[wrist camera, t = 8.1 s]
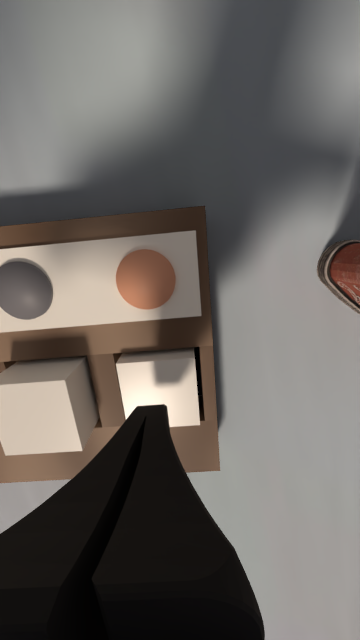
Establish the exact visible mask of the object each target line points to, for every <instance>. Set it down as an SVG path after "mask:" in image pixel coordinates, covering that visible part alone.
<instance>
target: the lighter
mask: <svg viewBox="0 0 360 640" xmlns="http://www.w3.org/2000/svg"><path fill="white" fill-rule="evenodd" d="M317 274H318V277H319V279H320V281H321V282H322V283H323V284H324V285H325V286H326V287H327V288H328V289H329V290H330V291H331V292H332V293H333V294H334V295H335V296H336V297H337V298H338V299H339V300H341V301H342V302H343V303H345V304H346V305H347V306H349V307H350V308H351V309H353V310H354V311H355V312H357V313H358V314H360V240H343V241H339V242H336V243H334V244H333V245H331V246H330V247H328V248H327V249H326V251H325V252H324V253H323V254H322V256H321V258H320V260H319V262H318V266H317Z"/></svg>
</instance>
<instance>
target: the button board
mask: <svg viewBox="0 0 360 640" xmlns="http://www.w3.org/2000/svg"><path fill="white" fill-rule="evenodd" d="M194 230H196V243H197V258H198V272H199V287H200V302H201V316H195V317H183V318H171V319H159V320H147V321H135V322H123V323H111V324H99V325H87V326H75V327H63V328H50V329H38V330H26V331H14V332H2V333H0V373H1V372H3V371H4V370H6V369H7V368H9V367H10V366H12V365H13V364H15V363H16V362H18V361H21V360H34V359H46V358H59V357H72V356H85V355H87V358H88V363H89V367H90V372H91V377H92V381H93V386H94V391H95V395H96V400H97V405H98V409H99V414H100V417H99V419H98V421H97V423H96V425H95V427H94V429H93V431H92V433H91V435H90V437H89V439H88V441H87V443H86V445H85V447H84V449H83V451H73V452H57V453H41V454H24V455H8V456H5V453H4V450H3V447H2V444H1V442H0V483H11V482H28V481H46V480H63V479H72V478H74V477H75V476H76V475H77V474H78V473H79V472H80V471H81V470H82V469H83V468H84V467H85V466H86V465H87V464H88V463H89V462H90V461H91V460H92V459H93V458H94V457H95V456H96V455H97V454H98V453H99V452H100V450H101V449H102V448H103V447H104V446H105V445H106V444H107V443H108V442H109V440H110V439H111V438H112V437H113V436H114V434H115V433H116V432H117V431H118V429H119V428H120V427H121V426H122V424H123V423H124V422H125V421H126V418H125V412H124V407H123V401H122V396H121V390H120V384H119V379H118V373H117V368H116V363H117V361H118V359H119V358H120V356H121V354H122V353H124V352H136V351H149V350H162V349H175V348H188V347H198V351H199V364H200V377H201V391H202V396H198V404H199V417H200V425H193V426H178V427H170V434H171V437H172V441H173V443H174V446H175V449H176V452H177V454H178V457H179V459H180V461H181V464H182V466H183V468H184V470H185V472H204V471H220V461H219V444H218V426H217V408H216V391H215V373H214V355H213V338H212V320H211V302H210V285H209V267H208V249H207V232H206V214H205V206H198V207H188V208H178V209H168V210H158V211H149V212H139V213H129V214H119V215H109V216H99V217H89V218H79V219H69V220H60V221H50V222H40V223H30V224H20V225H10V226H0V249H9V248H19V247H29V246H40V245H50V244H60V243H71V242H81V241H91V240H101V239H112V238H122V237H132V236H143V235H153V234H163V233H173V232H184V231H194Z"/></svg>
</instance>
